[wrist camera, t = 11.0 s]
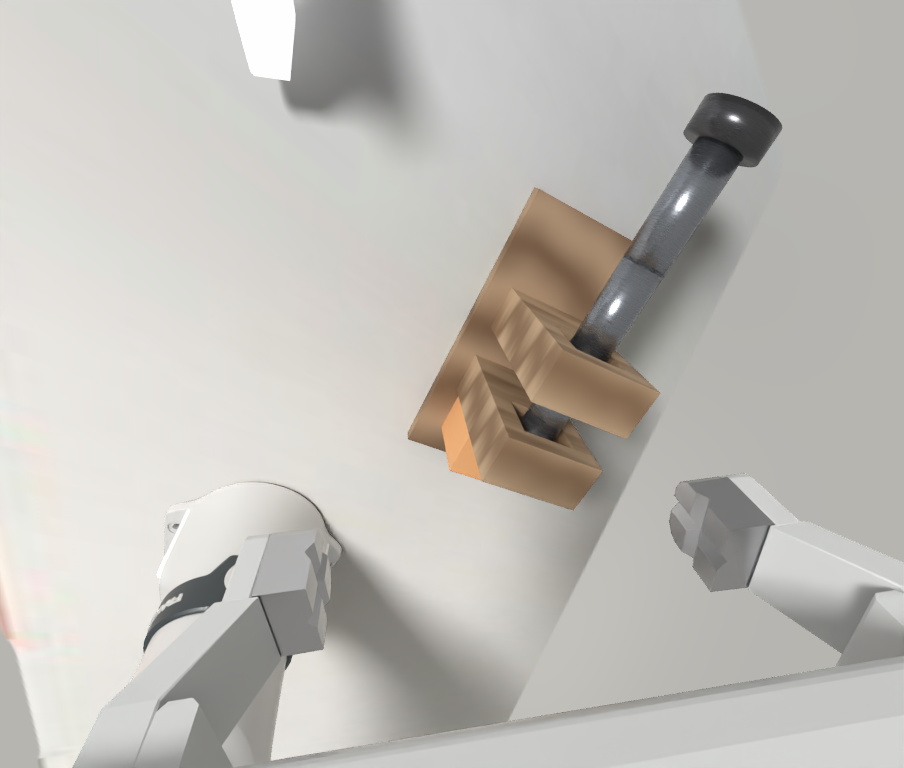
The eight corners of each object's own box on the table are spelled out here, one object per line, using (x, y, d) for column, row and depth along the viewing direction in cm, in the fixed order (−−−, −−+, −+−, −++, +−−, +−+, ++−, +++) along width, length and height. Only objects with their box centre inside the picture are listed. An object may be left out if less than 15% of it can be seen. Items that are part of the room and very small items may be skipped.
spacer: (501, 447, 49) (517, 492, 43) (441, 426, 47) (449, 470, 41) (519, 417, 48) (539, 458, 42) (459, 394, 46) (470, 434, 40)
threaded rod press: (507, 466, 52) (547, 577, 39) (407, 432, 49) (415, 542, 35) (645, 249, 43) (761, 299, 29) (534, 187, 39) (610, 213, 26)
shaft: (544, 437, 40) (562, 472, 36) (495, 419, 39) (509, 453, 35) (743, 134, 31) (799, 134, 27) (689, 96, 29) (739, 89, 25)
